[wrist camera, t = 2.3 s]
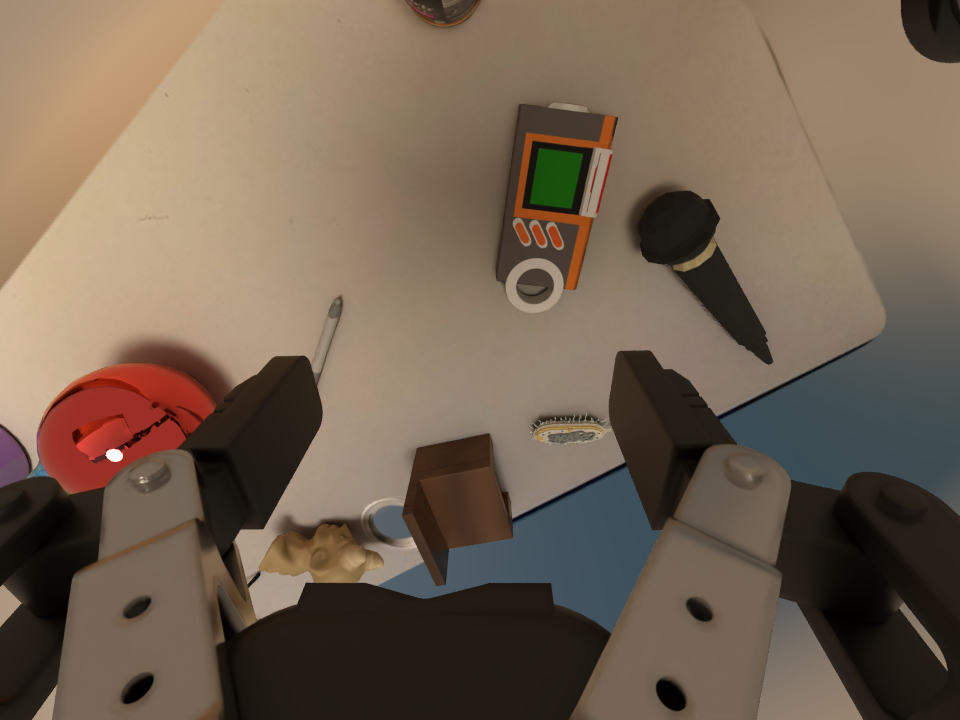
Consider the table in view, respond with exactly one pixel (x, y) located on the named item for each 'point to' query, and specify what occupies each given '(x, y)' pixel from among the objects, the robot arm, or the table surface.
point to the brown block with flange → (455, 501)
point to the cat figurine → (321, 556)
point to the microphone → (700, 262)
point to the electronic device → (552, 199)
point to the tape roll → (11, 460)
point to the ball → (117, 421)
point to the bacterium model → (569, 431)
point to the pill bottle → (443, 10)
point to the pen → (326, 338)
